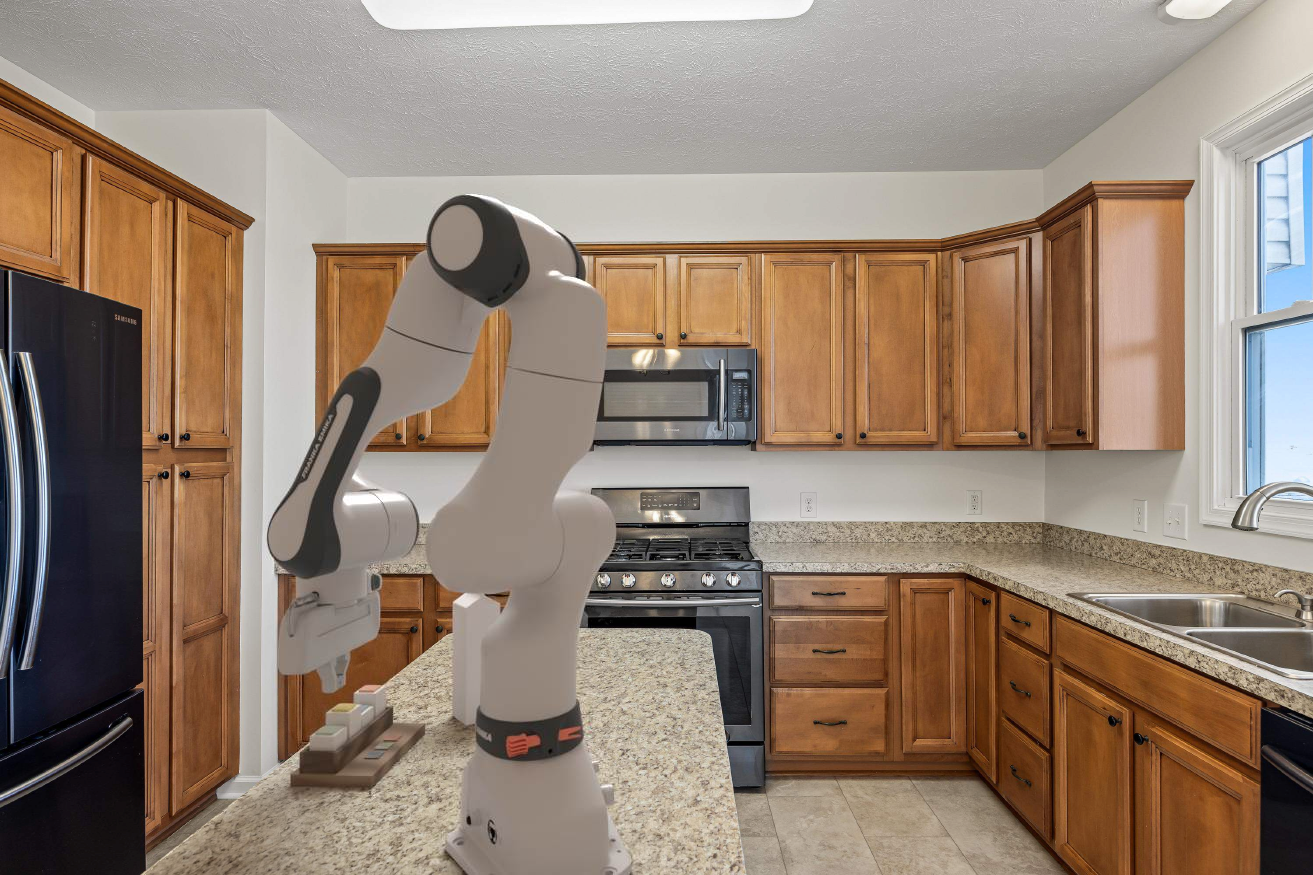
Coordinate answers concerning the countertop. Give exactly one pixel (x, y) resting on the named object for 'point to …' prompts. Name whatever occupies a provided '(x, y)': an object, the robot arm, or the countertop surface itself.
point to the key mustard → (345, 718)
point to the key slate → (366, 715)
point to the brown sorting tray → (359, 755)
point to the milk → (469, 651)
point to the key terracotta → (372, 698)
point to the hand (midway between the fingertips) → (334, 689)
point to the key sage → (328, 738)
